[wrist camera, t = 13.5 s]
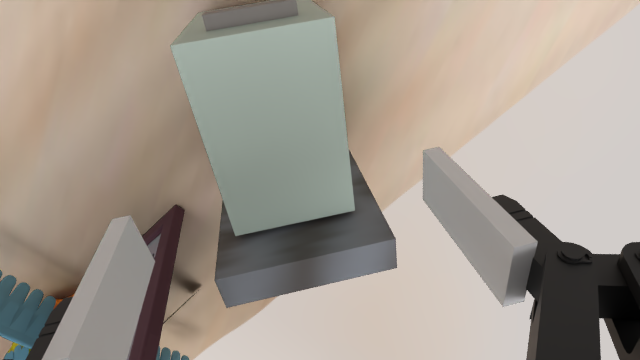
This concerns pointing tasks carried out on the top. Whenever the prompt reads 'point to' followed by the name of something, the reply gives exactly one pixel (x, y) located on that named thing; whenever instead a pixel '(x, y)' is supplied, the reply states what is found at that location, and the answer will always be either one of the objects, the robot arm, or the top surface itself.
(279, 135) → the cabinet box
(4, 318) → the blue toy animal
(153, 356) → the picture frame
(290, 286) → the grey bookend
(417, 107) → the top surface
